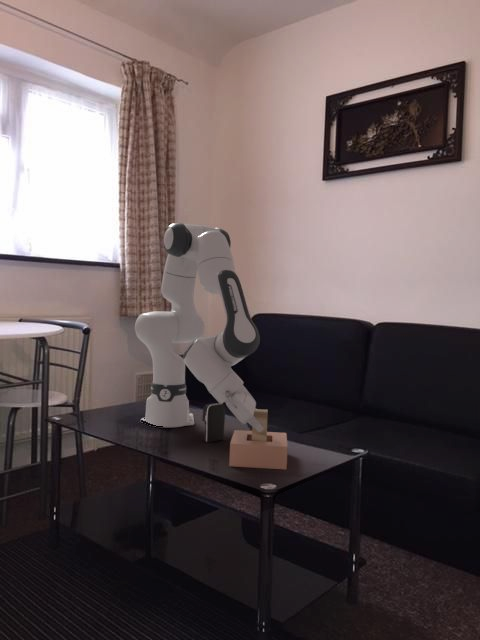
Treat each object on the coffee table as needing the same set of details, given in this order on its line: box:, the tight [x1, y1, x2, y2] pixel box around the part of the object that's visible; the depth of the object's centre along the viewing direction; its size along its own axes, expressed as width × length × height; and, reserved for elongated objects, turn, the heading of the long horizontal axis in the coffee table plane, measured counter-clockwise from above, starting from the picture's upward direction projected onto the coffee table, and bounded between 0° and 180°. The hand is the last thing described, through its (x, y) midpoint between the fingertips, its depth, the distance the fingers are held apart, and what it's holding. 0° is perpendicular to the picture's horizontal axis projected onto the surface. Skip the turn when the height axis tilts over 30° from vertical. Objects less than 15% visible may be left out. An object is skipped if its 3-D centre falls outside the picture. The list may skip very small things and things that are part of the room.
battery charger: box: [201, 402, 226, 443], centre depth 167 cm, size 7×4×11 cm, turn 134°
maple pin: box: [251, 408, 268, 442], centre depth 148 cm, size 4×4×12 cm
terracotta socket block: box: [228, 429, 288, 470], centre depth 148 cm, size 15×15×6 cm
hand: (262, 426), depth 147 cm, fingers open, 8 cm apart
